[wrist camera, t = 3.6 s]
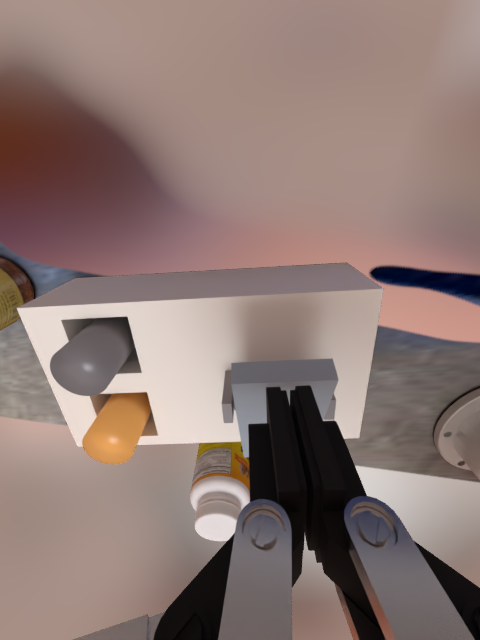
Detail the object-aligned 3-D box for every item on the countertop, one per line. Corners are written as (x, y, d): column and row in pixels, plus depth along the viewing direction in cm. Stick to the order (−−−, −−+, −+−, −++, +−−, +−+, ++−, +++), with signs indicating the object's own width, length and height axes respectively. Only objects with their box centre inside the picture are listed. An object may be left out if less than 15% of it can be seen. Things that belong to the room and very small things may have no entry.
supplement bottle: (249, 449, 34) (250, 547, 24) (203, 449, 34) (188, 547, 24) (248, 414, 31) (250, 508, 22) (200, 414, 31) (181, 508, 22)
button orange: (158, 364, 25) (127, 427, 19) (165, 395, 27) (138, 463, 20) (120, 366, 26) (75, 429, 19) (129, 396, 27) (90, 465, 20)
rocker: (333, 340, 14) (345, 379, 13) (308, 425, 22) (314, 455, 21) (226, 345, 15) (224, 384, 13) (239, 427, 23) (240, 457, 21)
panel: (346, 262, 24) (414, 310, 14) (334, 384, 29) (377, 477, 20) (75, 278, 25) (-32, 332, 15) (112, 393, 30) (51, 485, 21)
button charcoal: (144, 299, 23) (100, 346, 16) (152, 337, 24) (116, 395, 17) (101, 301, 23) (40, 348, 16) (112, 339, 24) (61, 397, 18)
